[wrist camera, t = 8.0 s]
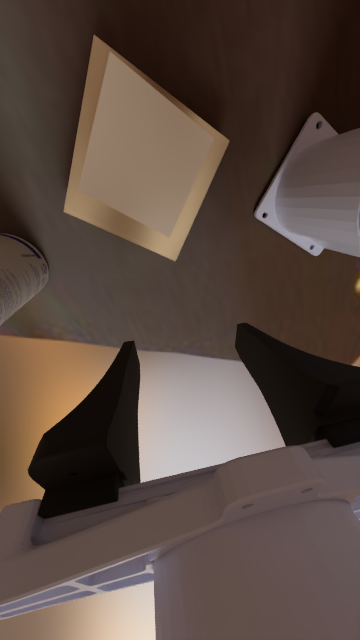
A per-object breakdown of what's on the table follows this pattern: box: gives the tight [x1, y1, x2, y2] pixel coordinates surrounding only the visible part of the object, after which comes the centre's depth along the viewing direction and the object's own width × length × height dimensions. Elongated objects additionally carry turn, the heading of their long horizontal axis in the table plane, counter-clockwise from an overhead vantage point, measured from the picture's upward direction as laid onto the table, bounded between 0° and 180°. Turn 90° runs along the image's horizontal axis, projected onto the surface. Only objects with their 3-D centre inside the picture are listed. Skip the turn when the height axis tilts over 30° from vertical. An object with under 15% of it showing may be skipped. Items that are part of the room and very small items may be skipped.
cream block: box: [78, 52, 214, 238], centre depth 11 cm, size 5×5×5 cm
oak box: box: [64, 35, 229, 261], centre depth 15 cm, size 9×9×3 cm
